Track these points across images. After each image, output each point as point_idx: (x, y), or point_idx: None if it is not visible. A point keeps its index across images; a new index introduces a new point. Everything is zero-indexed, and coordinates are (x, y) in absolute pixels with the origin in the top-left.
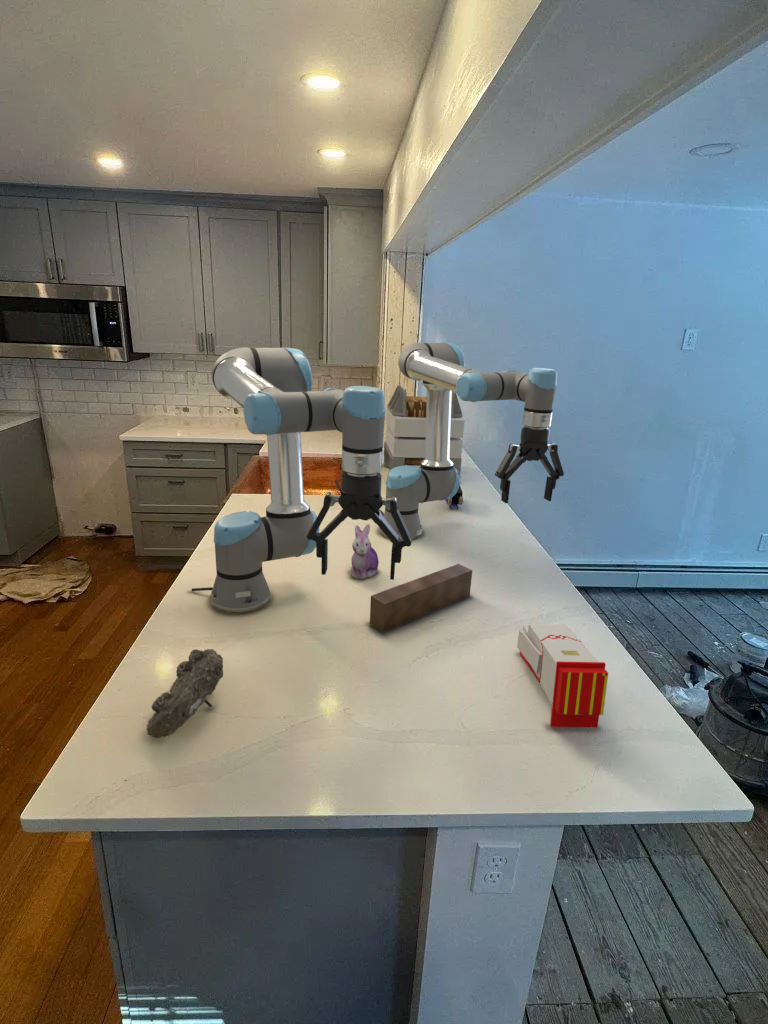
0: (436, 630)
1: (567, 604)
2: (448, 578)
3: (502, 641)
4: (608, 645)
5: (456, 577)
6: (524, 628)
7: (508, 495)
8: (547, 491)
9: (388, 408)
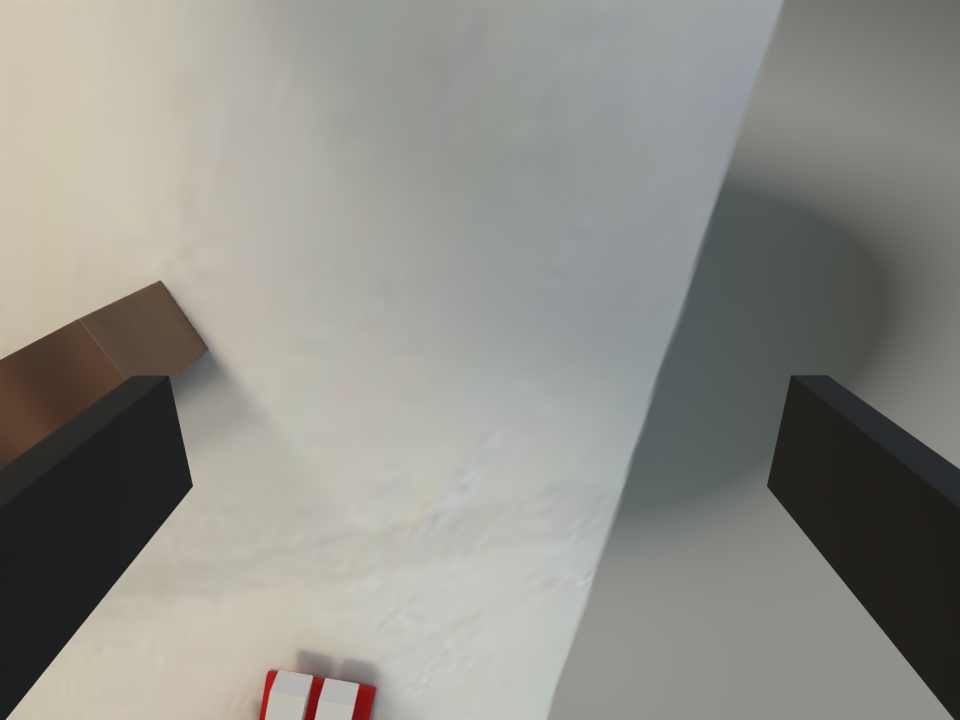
0: None
1: (577, 471)
2: (5, 460)
3: (242, 614)
4: (547, 674)
5: None
6: (268, 703)
7: (133, 553)
8: (845, 503)
9: None
